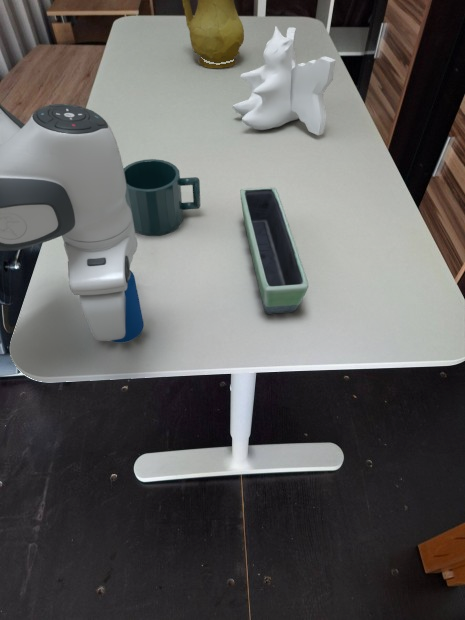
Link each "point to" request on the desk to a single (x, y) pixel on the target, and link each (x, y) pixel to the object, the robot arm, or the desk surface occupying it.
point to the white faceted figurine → (286, 88)
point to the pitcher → (215, 31)
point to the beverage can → (132, 312)
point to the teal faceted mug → (157, 196)
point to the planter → (273, 250)
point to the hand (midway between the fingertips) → (119, 310)
